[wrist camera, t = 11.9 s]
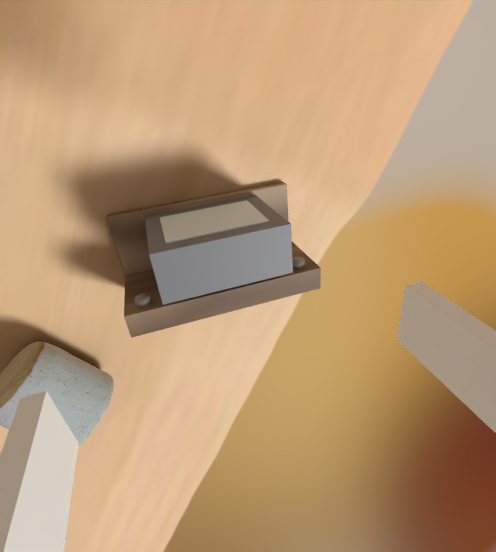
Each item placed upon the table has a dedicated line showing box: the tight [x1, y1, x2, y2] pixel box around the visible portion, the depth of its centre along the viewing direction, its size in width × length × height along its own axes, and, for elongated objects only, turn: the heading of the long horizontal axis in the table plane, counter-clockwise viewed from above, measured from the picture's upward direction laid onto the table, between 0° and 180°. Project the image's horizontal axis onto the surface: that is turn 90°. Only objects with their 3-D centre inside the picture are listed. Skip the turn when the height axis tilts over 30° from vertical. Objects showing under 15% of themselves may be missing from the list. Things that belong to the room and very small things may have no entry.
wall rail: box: [107, 182, 320, 337], centre depth 29 cm, size 8×16×8 cm, turn 96°
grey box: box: [145, 196, 293, 305], centre depth 28 cm, size 4×10×8 cm, turn 96°
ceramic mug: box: [0, 341, 113, 446], centre depth 31 cm, size 11×8×8 cm
